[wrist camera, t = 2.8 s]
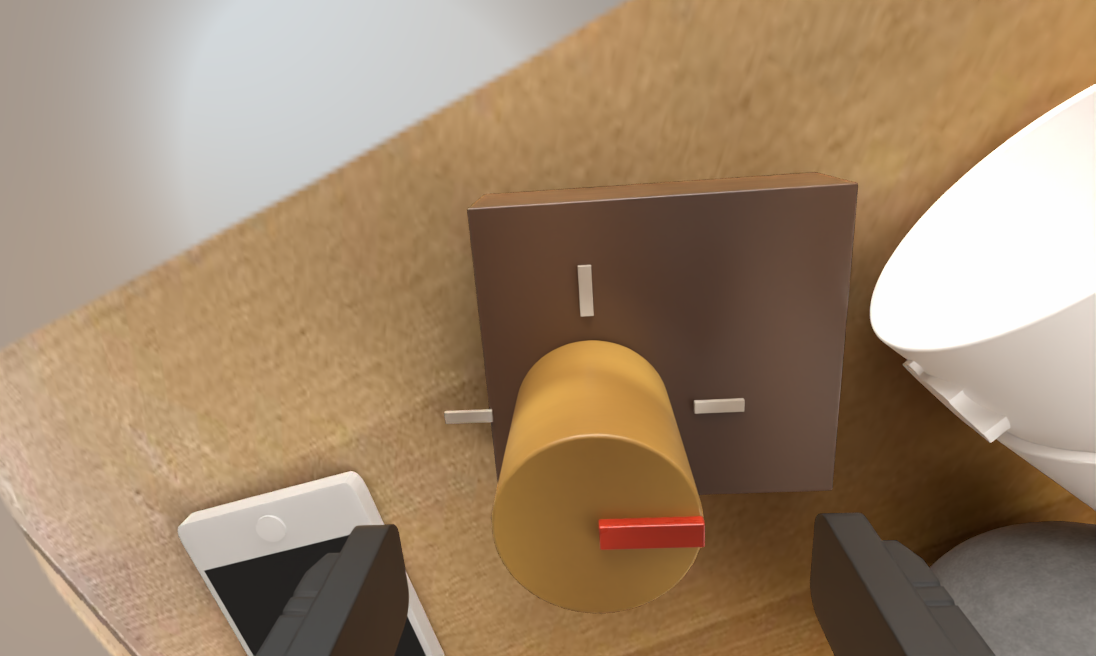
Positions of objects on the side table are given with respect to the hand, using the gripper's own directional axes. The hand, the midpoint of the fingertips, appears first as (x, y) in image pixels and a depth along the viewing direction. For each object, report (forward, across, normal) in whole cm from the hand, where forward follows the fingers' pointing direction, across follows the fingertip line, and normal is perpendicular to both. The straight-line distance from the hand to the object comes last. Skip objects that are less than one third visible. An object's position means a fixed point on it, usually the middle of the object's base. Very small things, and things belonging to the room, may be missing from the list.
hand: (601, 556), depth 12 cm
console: (+10, -2, -1) cm, 10 cm away
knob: (+6, 0, 0) cm, 6 cm away
